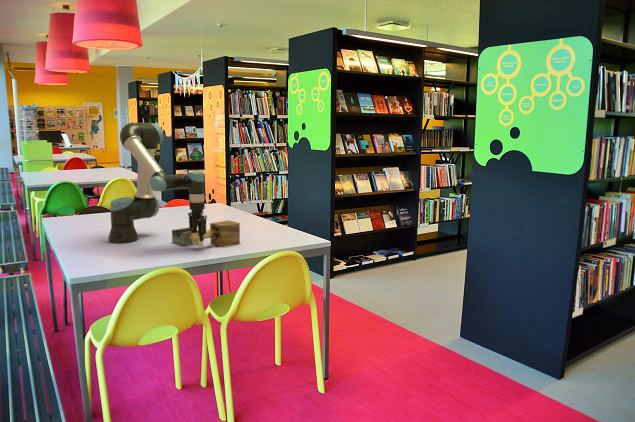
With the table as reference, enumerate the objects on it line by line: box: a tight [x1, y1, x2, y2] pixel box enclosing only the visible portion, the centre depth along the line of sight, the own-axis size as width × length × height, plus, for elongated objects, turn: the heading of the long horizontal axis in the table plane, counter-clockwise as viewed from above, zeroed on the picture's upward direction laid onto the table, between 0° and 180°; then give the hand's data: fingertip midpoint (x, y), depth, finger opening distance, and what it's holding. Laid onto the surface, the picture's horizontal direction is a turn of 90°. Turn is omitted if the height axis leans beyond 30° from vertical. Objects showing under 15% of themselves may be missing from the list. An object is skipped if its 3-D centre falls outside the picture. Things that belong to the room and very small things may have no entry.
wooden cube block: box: [209, 220, 241, 248], centre depth 269 cm, size 10×12×12 cm
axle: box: [190, 228, 219, 241], centre depth 260 cm, size 18×4×4 cm, turn 137°
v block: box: [171, 227, 198, 247], centre depth 270 cm, size 12×10×7 cm
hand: (198, 246), depth 257 cm, fingers closed on axle, 4 cm apart
